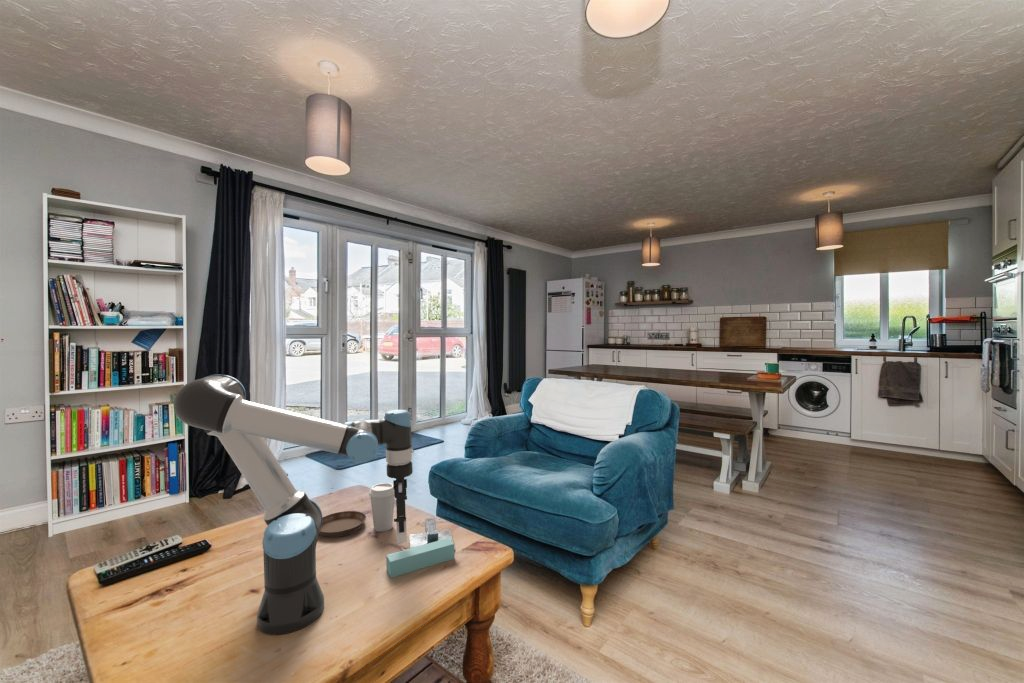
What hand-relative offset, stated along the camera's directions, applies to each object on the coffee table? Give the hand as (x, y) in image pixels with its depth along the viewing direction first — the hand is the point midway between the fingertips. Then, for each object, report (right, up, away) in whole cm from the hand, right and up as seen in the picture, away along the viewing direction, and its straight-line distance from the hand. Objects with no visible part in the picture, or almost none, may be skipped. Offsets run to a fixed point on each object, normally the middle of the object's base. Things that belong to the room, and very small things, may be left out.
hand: (401, 531), depth 131 cm
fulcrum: (+6, -10, +14) cm, 19 cm away
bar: (+6, -11, +2) cm, 12 cm away
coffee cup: (-13, -10, +27) cm, 32 cm away
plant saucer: (-29, -11, +27) cm, 41 cm away
